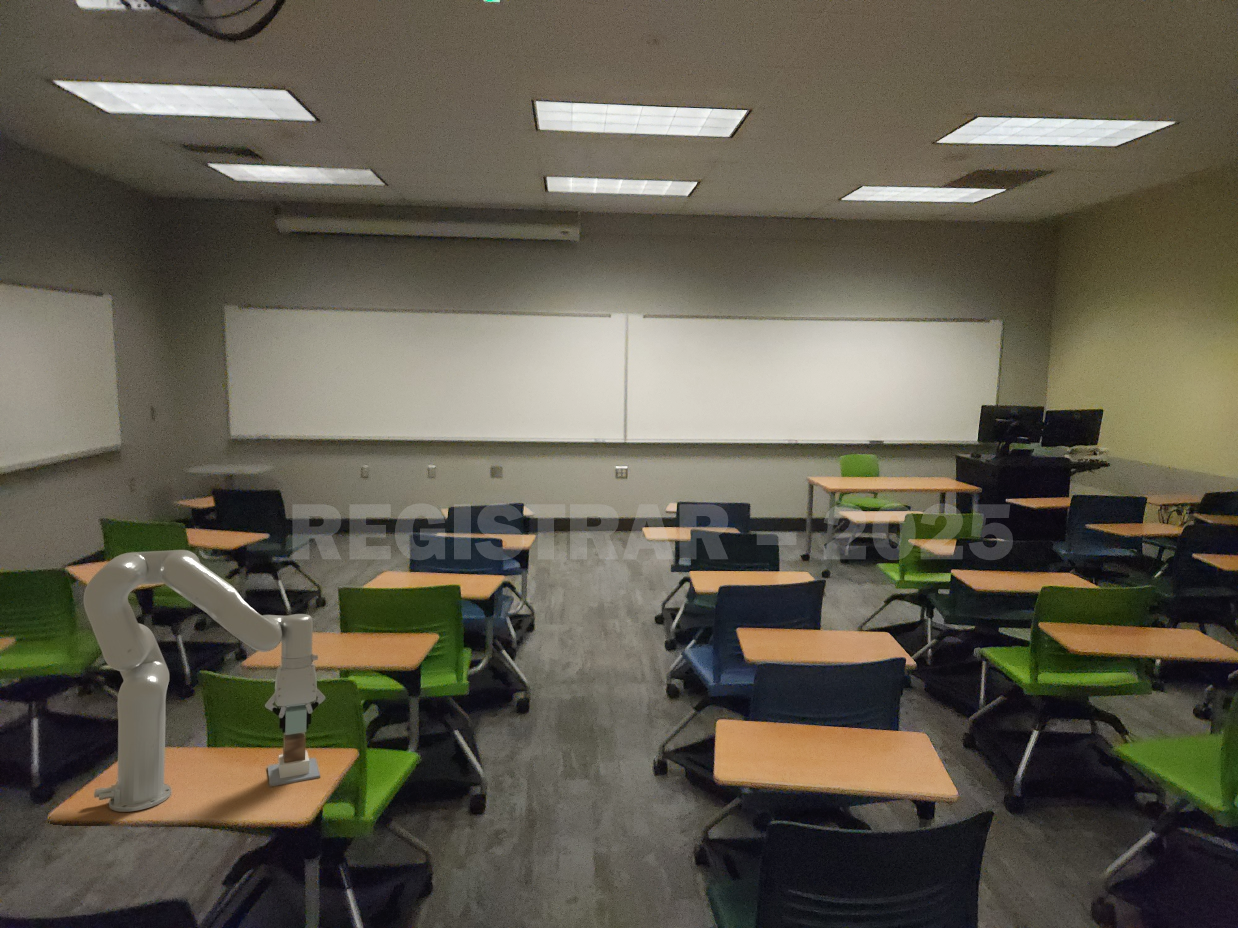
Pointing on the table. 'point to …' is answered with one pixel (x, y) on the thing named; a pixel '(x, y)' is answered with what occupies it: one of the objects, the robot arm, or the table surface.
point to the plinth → (290, 779)
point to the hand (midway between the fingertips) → (295, 728)
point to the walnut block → (294, 747)
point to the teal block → (295, 719)
